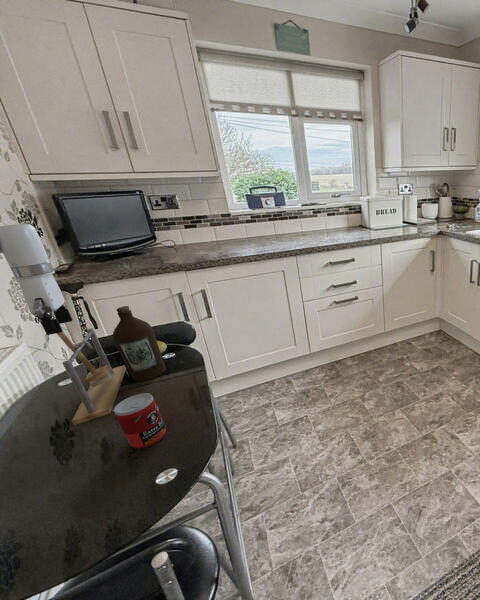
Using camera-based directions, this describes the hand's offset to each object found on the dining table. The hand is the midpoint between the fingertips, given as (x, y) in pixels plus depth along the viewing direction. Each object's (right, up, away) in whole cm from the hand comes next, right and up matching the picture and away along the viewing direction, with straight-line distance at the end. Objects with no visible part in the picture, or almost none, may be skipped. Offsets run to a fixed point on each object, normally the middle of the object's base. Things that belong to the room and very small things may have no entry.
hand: (60, 327), depth 95 cm
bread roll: (+2, -13, +34) cm, 36 cm away
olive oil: (+12, -18, +19) cm, 28 cm away
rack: (+4, -22, +10) cm, 24 cm away
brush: (+4, -18, +9) cm, 20 cm away
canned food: (+35, -27, -12) cm, 46 cm away
